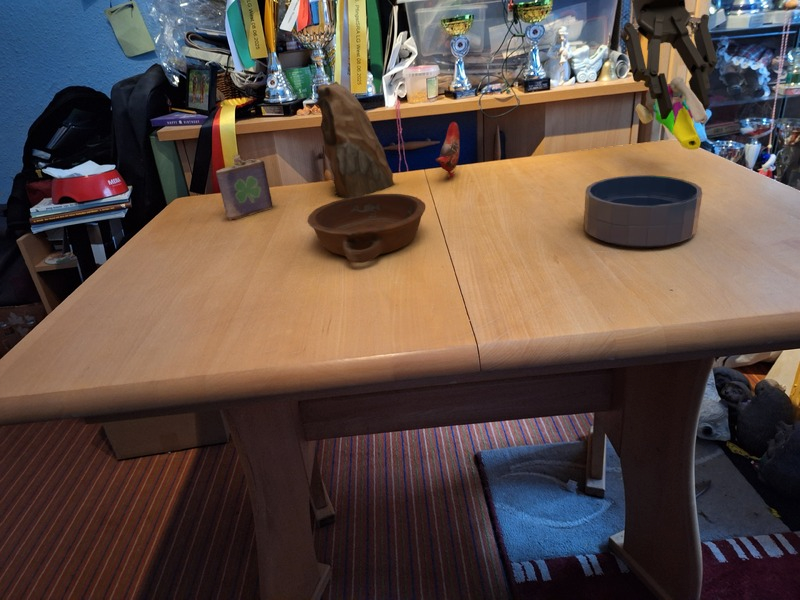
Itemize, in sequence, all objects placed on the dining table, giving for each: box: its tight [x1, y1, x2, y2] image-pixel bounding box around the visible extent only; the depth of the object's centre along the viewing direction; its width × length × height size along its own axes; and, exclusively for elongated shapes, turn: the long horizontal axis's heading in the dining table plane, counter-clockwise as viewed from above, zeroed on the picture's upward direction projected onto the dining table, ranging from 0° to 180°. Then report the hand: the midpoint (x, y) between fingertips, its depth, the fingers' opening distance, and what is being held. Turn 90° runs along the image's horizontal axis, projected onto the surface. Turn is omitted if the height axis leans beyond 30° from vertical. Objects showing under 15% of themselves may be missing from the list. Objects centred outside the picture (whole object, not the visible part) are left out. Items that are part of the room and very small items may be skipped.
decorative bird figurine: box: [435, 121, 460, 180], centre depth 109 cm, size 3×18×10 cm, turn 162°
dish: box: [307, 193, 427, 264], centre depth 84 cm, size 18×22×5 cm
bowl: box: [583, 174, 703, 249], centre depth 76 cm, size 14×14×6 cm
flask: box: [215, 154, 274, 221], centre depth 102 cm, size 9×3×11 cm, turn 129°
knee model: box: [634, 76, 708, 150], centre depth 90 cm, size 9×8×25 cm
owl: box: [315, 81, 395, 199], centre depth 108 cm, size 13×13×20 cm
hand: (685, 111), depth 86 cm, fingers closed on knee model, 5 cm apart
